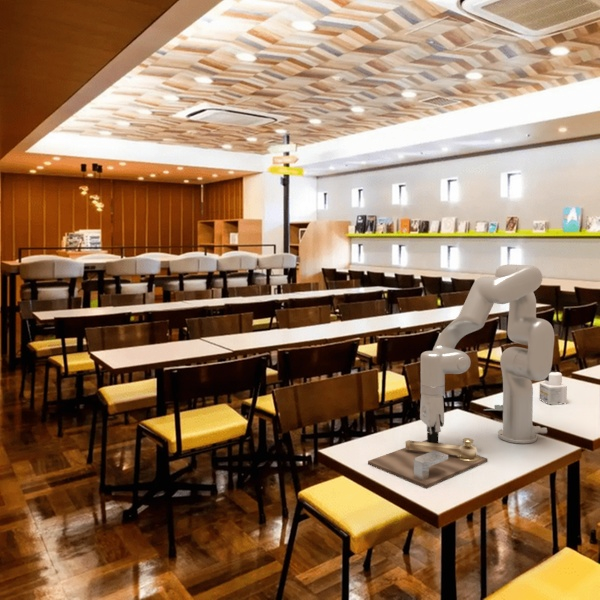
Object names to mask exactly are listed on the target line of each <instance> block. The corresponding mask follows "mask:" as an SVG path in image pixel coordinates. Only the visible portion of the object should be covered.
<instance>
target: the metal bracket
mask: <svg viewBox="0 0 600 600" xmlns="http://www.w3.org/2000/svg"><path fill="white" fill-rule="evenodd" d="M483 411H503V404H502V405H501V404H494V408H486V409H485V408H484V409H483Z"/></svg>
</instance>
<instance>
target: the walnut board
mask: <svg viewBox="0 0 600 600" xmlns="http://www.w3.org/2000/svg"><path fill="white" fill-rule="evenodd" d="M421 442H427V439H426V440H422V441H421ZM438 444H443V443H441V442H439V441H438ZM426 453H429V452H425V451H416V450H408V449H406V447H403V448H400V449H397V450H395V451H392V452H389V453H387V454H384V455H381V456H379V457H378V456H377V457H375V458H373V459H370V460H368V461H367V465H369V464H371V465H372V466H371V465H370V466H371V467H374V466H375V467H374V468H376V467H377V469H379V470H381V469H382V470H381V471H383V470H384V472H386V471H387V473H388V472H389V474H390V475H393V476H395V475H396V477H398V478H401V479H402V478H403V480H405V481H408V482H409V483H412V484H415V485H417V486H420V487H421V488H424V489H428V488H431V487H434V486H435V485H438V484H440V483H442V482H444V481H446V480H449V479H452V478H454V477H456V476H458V475H460V474H463V473H465V472H468V471H469V470H471V469H475V468H476V467H478V466H481V465H483V464H485V463H488V458H487V457H484V456H481V455H478V454H476V455H477V456H478V457H479V459H478V460H477V461H474V462H466V461H462V460H460V459H458V458H457V455H451V454H447V455H448V459H447V460H445V461H442V462H440V463H437V464H435V465H432V466H430V467H429V478H427V479H424V480H420V479H417V478H415V477H414V459H415V458H416V457H418V456H421V455H424V454H426Z"/></svg>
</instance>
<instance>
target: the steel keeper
mask: <svg viewBox="0 0 600 600" xmlns="http://www.w3.org/2000/svg"><path fill="white" fill-rule="evenodd" d="M447 459H448V455H447V454H444V453H441V452H438V451H435V450H434V451H432V452H429V453H426V454H424V455H421V456H418V457H416V458H415V459H414V477H415V478H417V479H420V480H424V479H427V478H429V467H430V466H432V465H435V464H437V463H440V462H442V461H445V460H447Z"/></svg>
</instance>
